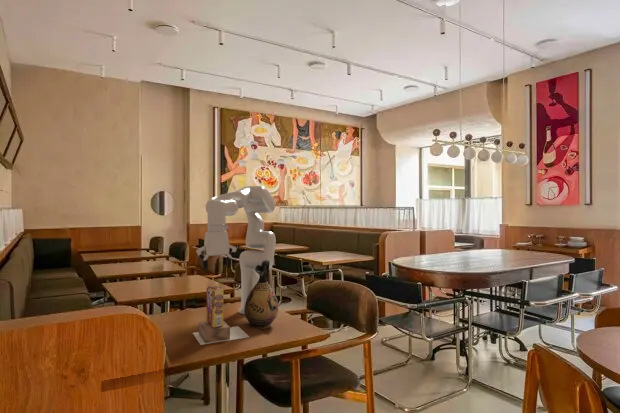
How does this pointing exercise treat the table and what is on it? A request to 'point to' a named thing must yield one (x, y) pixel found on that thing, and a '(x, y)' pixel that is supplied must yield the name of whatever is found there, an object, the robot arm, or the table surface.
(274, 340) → the table surface
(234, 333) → the baseplate
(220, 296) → the candy box
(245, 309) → the ceramic jug
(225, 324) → the walnut block
